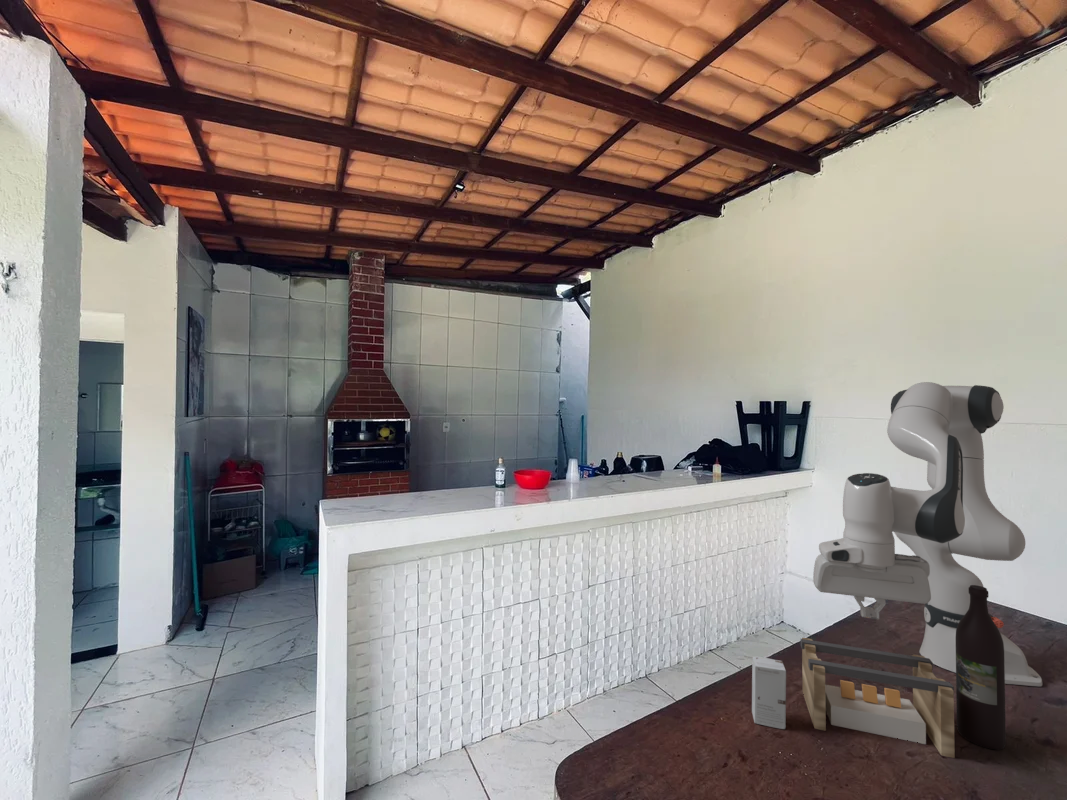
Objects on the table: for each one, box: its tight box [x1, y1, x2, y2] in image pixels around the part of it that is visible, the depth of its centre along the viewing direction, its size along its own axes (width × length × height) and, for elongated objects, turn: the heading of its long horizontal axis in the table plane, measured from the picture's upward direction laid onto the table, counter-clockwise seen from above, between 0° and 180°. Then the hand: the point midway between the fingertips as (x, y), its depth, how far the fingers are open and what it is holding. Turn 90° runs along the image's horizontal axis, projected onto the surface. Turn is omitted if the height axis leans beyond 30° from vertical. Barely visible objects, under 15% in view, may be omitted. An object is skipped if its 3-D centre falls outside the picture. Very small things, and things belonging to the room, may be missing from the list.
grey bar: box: [808, 659, 955, 692], centre depth 94 cm, size 24×2×2 cm, turn 69°
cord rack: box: [801, 637, 956, 759], centre depth 98 cm, size 23×13×13 cm, turn 69°
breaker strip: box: [825, 684, 927, 745], centre depth 98 cm, size 16×8×4 cm, turn 69°
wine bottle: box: [955, 585, 1007, 750], centre depth 93 cm, size 7×7×30 cm
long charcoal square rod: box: [800, 638, 934, 671], centre depth 102 cm, size 24×2×2 cm, turn 69°
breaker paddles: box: [839, 679, 901, 708], centre depth 98 cm, size 10×1×3 cm, turn 69°
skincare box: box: [751, 655, 787, 730], centre depth 98 cm, size 6×4×12 cm
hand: (869, 617), depth 98 cm, fingers closed
